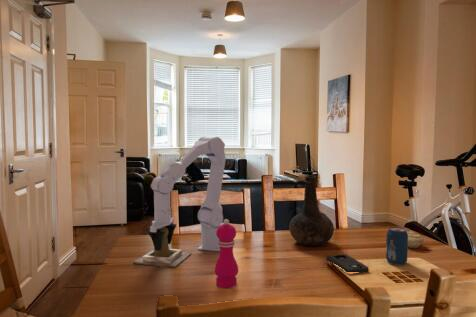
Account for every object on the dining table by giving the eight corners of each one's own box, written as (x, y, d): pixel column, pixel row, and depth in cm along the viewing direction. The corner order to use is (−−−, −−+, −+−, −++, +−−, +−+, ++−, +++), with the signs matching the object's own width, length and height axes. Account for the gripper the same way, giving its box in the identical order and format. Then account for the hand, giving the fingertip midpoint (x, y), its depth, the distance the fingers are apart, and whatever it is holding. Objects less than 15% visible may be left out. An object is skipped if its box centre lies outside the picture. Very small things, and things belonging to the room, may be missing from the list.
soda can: (406, 260, 134) (407, 227, 133) (408, 267, 127) (409, 232, 127) (385, 258, 136) (386, 225, 135) (386, 264, 130) (387, 230, 129)
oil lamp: (409, 239, 161) (410, 227, 160) (433, 249, 147) (434, 236, 146) (387, 240, 159) (388, 228, 158) (409, 251, 145) (410, 238, 144)
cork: (166, 260, 133) (166, 229, 132) (150, 259, 134) (150, 229, 133) (172, 254, 139) (172, 225, 138) (156, 253, 140) (156, 224, 139)
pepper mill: (214, 279, 117) (213, 216, 115) (237, 278, 118) (237, 216, 116) (214, 289, 110) (214, 222, 108) (239, 288, 110) (239, 221, 109)
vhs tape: (369, 273, 123) (369, 267, 123) (347, 275, 121) (347, 269, 121) (345, 259, 137) (346, 253, 137) (326, 261, 135) (326, 255, 135)
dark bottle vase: (342, 244, 153) (343, 176, 150) (311, 252, 142) (311, 180, 140) (310, 234, 167) (311, 172, 165) (280, 241, 157) (280, 175, 155)
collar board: (191, 254, 141) (191, 249, 140) (174, 267, 127) (174, 261, 127) (153, 251, 145) (152, 245, 145) (133, 263, 132) (133, 257, 131)
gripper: (161, 205, 143) (162, 240, 144) (142, 213, 129) (142, 252, 130) (178, 206, 141) (179, 241, 142) (160, 214, 127) (161, 253, 128)
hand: (163, 246), depth 136 cm, fingers open, 7 cm apart
